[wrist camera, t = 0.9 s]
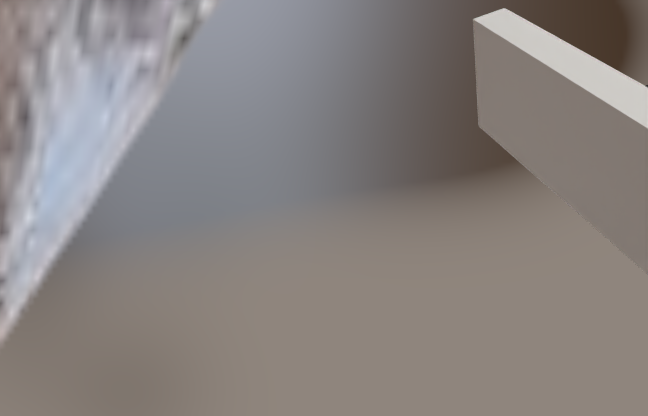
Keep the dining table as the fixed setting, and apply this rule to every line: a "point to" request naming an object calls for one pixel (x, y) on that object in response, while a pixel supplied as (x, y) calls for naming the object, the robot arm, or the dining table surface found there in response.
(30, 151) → the dining table surface
